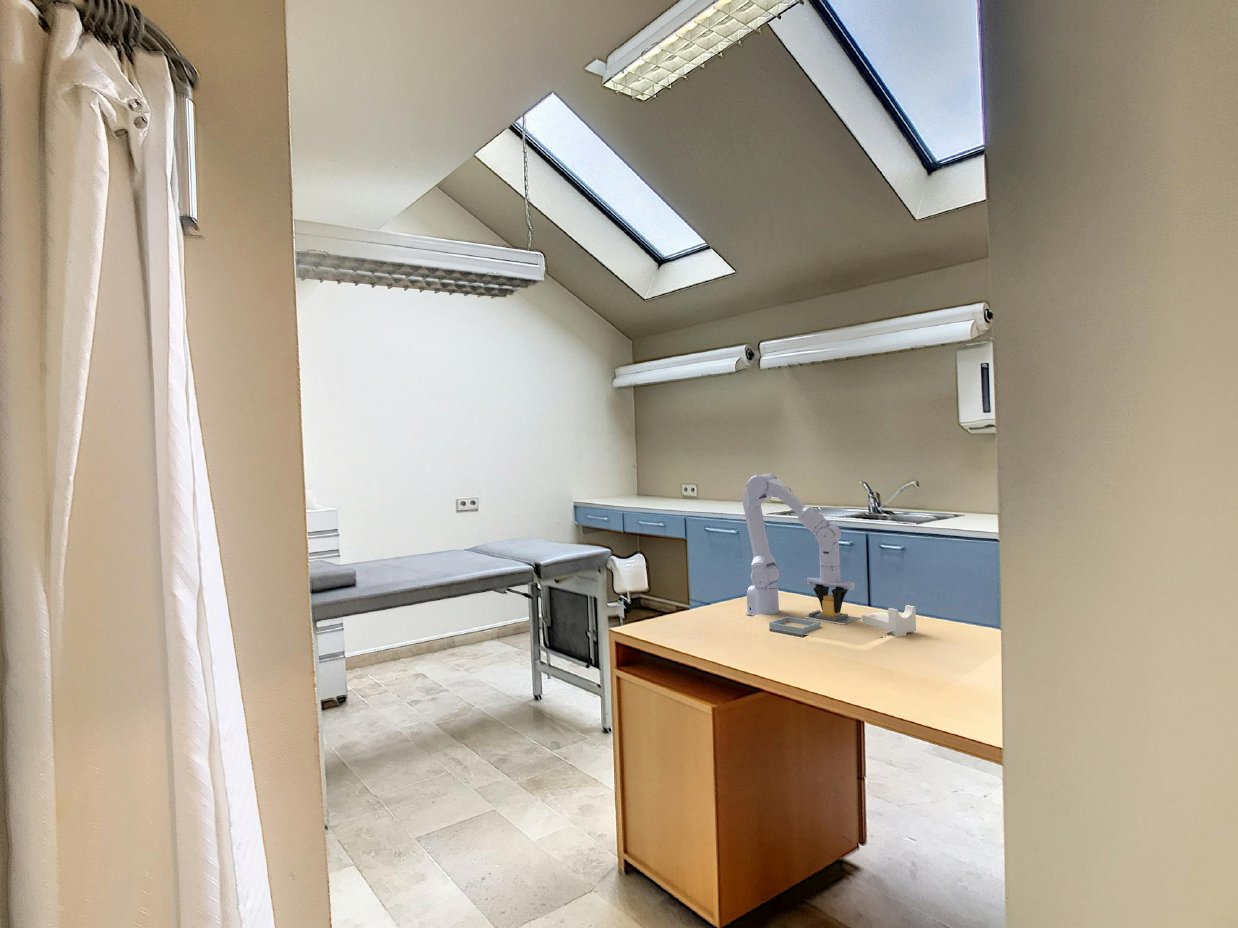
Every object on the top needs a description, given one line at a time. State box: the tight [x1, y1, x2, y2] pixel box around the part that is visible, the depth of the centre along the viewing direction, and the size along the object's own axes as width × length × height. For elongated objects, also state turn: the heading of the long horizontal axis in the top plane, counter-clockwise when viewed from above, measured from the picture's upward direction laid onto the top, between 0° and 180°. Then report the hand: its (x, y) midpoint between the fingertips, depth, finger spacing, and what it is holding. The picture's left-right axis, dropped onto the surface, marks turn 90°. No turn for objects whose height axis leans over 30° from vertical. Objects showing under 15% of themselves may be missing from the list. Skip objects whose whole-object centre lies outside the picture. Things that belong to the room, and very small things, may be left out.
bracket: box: [861, 604, 917, 638], centre depth 199 cm, size 13×7×8 cm, turn 22°
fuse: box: [821, 594, 841, 617], centre depth 210 cm, size 4×4×6 cm
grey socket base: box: [802, 609, 862, 626], centre depth 210 cm, size 14×10×2 cm
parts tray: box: [768, 616, 821, 638], centre depth 202 cm, size 11×9×2 cm
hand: (831, 611), depth 210 cm, fingers closed on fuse, 4 cm apart
